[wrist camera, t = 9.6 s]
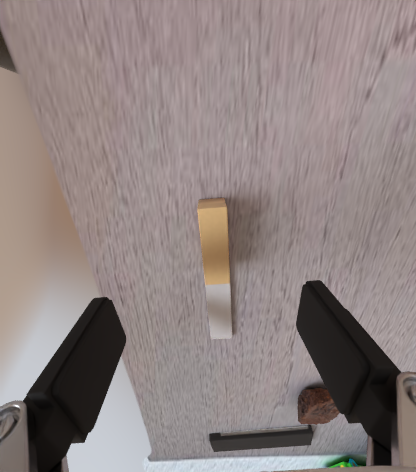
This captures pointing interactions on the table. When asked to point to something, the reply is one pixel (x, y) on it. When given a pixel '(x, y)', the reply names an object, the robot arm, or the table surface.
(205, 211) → the knife
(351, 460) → the toy car
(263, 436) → the dark grey flat bar
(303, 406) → the stone
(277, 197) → the table surface
